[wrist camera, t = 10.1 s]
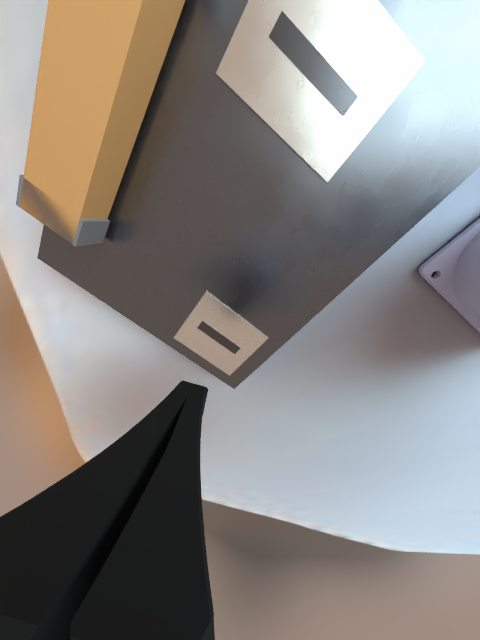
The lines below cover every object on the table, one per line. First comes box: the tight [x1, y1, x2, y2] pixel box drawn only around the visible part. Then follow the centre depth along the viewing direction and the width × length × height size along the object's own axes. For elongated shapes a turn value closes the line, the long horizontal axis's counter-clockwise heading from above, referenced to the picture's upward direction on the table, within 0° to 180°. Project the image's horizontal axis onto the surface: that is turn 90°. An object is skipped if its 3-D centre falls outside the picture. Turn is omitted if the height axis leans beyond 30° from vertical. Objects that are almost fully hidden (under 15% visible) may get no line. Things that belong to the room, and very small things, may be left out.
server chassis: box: [38, 0, 480, 389], centre depth 12 cm, size 18×22×3 cm
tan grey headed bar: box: [16, 0, 185, 247], centre depth 9 cm, size 15×4×2 cm, turn 143°
